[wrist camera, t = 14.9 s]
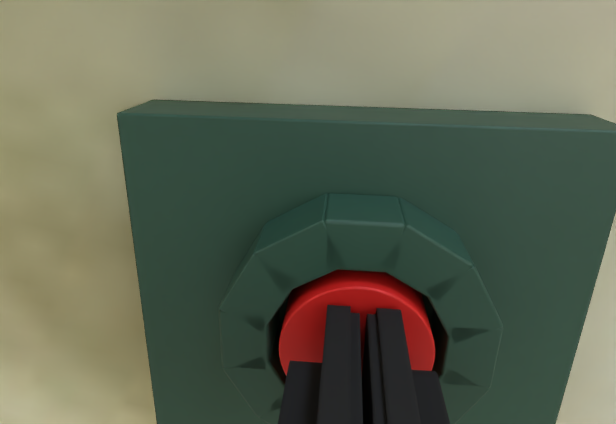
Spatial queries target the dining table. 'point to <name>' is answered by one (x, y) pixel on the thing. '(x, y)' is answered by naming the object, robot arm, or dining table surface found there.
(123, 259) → the dining table surface
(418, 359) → the red push button
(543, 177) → the button block
